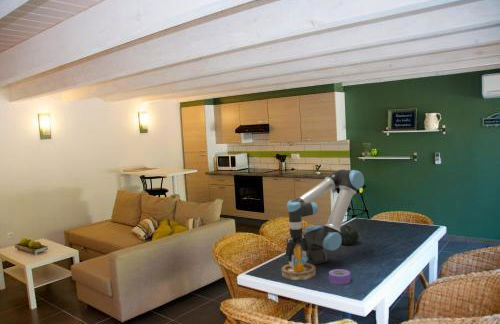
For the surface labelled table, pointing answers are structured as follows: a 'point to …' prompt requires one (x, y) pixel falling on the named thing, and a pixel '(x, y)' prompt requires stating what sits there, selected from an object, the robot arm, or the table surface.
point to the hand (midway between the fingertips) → (298, 264)
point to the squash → (349, 235)
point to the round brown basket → (304, 275)
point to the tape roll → (339, 276)
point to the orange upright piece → (298, 259)
